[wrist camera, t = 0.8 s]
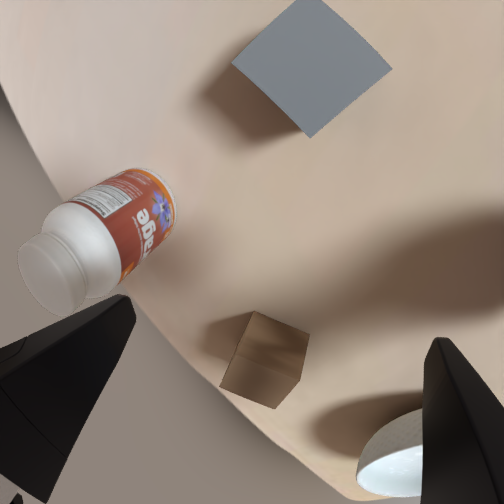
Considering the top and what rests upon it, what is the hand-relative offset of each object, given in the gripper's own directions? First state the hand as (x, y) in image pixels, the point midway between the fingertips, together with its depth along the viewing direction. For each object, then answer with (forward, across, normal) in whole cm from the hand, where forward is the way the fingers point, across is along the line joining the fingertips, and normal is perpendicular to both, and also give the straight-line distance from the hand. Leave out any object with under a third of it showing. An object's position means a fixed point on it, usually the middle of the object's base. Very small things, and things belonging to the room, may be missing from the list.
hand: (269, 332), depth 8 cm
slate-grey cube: (+13, 0, -7) cm, 15 cm away
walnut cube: (+13, +3, +14) cm, 19 cm away
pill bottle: (+13, +13, +2) cm, 18 cm away
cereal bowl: (+13, -16, +26) cm, 33 cm away
